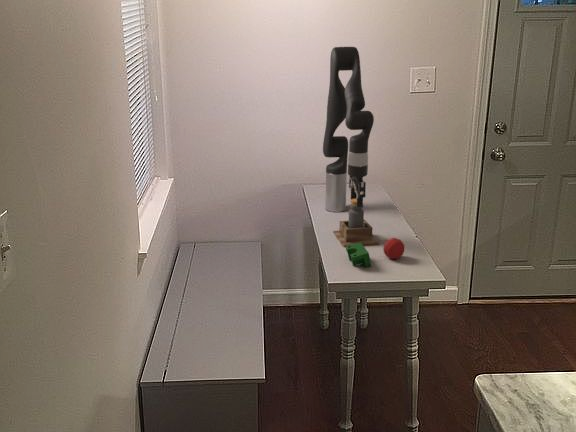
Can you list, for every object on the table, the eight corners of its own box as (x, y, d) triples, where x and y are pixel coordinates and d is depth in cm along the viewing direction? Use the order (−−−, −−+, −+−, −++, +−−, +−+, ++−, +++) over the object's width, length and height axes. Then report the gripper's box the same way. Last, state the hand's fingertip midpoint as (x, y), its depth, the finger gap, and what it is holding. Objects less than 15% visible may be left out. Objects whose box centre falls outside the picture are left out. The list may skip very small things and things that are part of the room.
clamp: (351, 270, 246) (344, 246, 246) (366, 265, 246) (359, 242, 247) (356, 270, 234) (348, 245, 234) (372, 265, 234) (365, 240, 235)
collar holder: (333, 233, 271) (333, 219, 269) (366, 231, 273) (366, 217, 271) (343, 247, 256) (344, 232, 254) (378, 244, 258) (379, 230, 256)
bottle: (364, 234, 266) (365, 198, 261) (361, 239, 261) (362, 202, 256) (350, 233, 268) (351, 197, 263) (346, 237, 263) (347, 201, 258)
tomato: (403, 239, 239) (390, 229, 245) (387, 254, 239) (375, 244, 244) (411, 252, 244) (398, 242, 250) (395, 266, 244) (383, 256, 250)
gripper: (343, 159, 261) (342, 198, 266) (353, 168, 247) (352, 209, 253) (362, 158, 262) (360, 197, 267) (373, 167, 249) (371, 208, 254)
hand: (356, 203), depth 260 cm, fingers open, 8 cm apart
